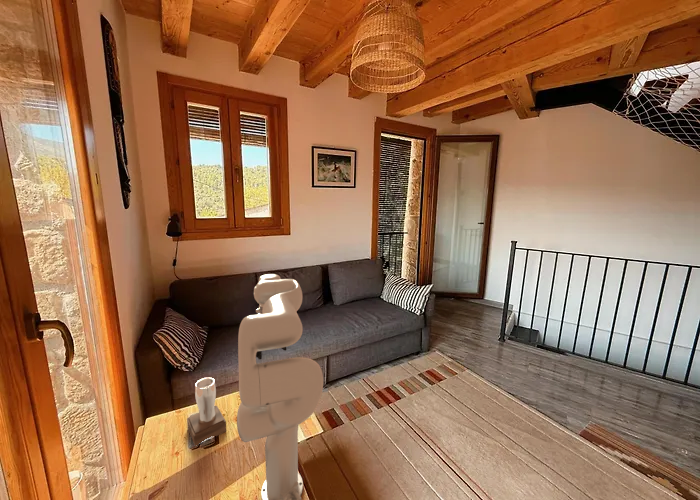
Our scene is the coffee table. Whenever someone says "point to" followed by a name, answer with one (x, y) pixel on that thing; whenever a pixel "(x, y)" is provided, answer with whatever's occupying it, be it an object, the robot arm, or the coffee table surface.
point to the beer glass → (206, 399)
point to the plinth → (206, 427)
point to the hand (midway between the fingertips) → (271, 353)
